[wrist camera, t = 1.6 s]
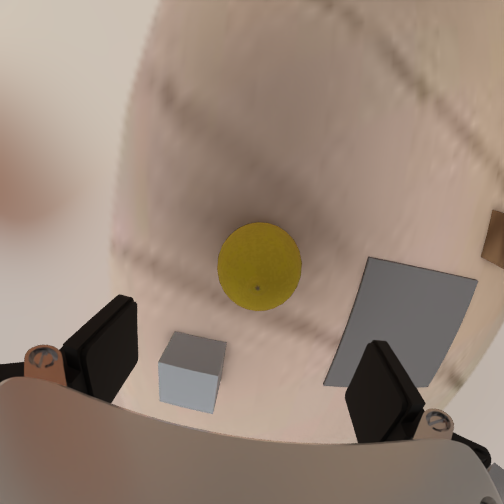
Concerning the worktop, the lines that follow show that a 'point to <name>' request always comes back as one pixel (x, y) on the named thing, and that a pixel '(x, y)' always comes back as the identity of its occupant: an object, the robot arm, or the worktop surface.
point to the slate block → (191, 372)
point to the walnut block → (495, 240)
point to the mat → (403, 319)
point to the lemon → (259, 266)
